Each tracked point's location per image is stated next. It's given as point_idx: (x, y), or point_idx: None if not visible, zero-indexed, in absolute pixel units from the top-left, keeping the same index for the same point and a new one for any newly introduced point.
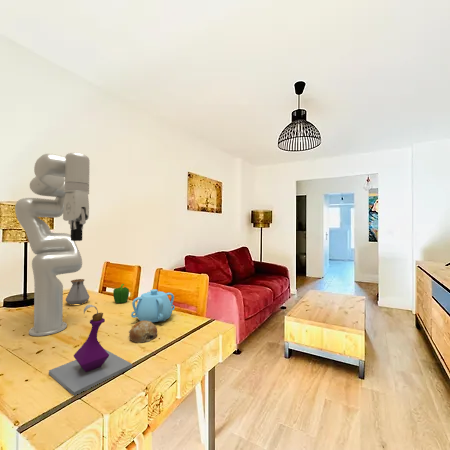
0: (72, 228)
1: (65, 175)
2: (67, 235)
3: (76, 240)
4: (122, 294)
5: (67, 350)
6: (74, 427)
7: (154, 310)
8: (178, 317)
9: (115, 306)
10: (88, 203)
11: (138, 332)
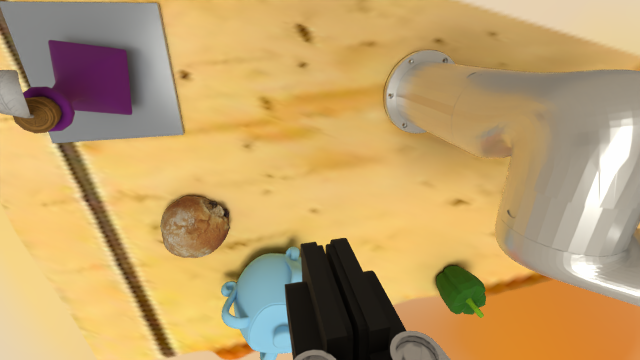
0: (390, 356)
1: None
2: None
3: (302, 271)
4: (447, 290)
5: (258, 79)
6: None
7: (241, 291)
8: None
9: (433, 255)
10: None
11: (169, 214)
